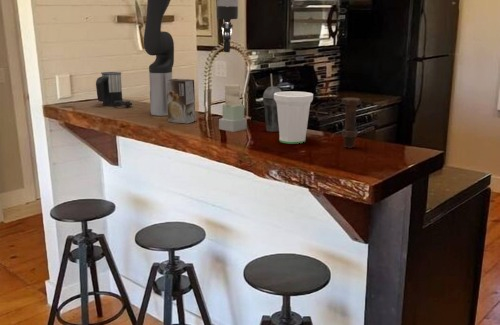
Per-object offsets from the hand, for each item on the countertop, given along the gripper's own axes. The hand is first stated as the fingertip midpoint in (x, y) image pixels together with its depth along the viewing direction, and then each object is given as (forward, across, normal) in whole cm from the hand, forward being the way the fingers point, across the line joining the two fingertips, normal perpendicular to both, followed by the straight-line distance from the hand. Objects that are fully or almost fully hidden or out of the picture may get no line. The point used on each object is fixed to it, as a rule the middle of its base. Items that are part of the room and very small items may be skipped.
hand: (226, 51), depth 194 cm
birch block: (+18, +12, +2) cm, 22 cm away
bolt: (+25, +41, +38) cm, 62 cm away
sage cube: (+23, +12, +3) cm, 26 cm away
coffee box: (+27, -3, -17) cm, 32 cm away
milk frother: (+29, -42, -50) cm, 71 cm away
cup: (+26, +32, +22) cm, 47 cm away
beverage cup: (+26, +15, +17) cm, 34 cm away
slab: (+27, +12, +3) cm, 29 cm away
